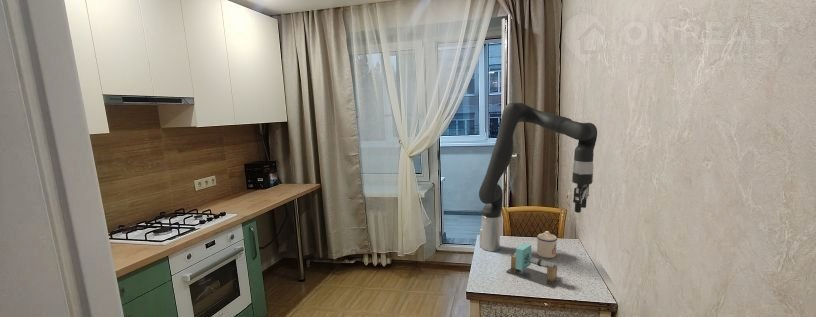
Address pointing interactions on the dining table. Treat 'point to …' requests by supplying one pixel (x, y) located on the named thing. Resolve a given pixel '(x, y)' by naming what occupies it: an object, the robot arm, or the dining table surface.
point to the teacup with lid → (546, 245)
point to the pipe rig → (533, 275)
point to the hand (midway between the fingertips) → (580, 209)
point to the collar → (522, 256)
